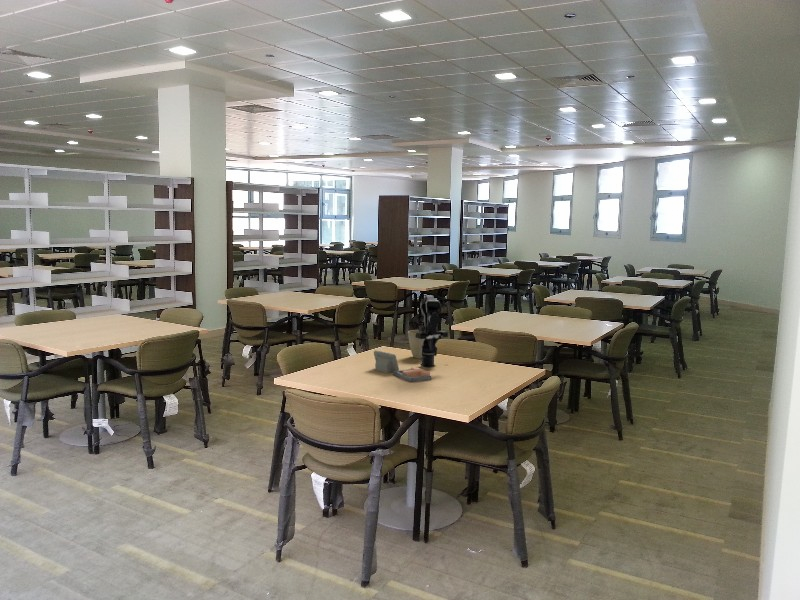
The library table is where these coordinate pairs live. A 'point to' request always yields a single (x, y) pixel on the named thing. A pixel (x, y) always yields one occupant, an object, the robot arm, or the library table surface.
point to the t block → (416, 372)
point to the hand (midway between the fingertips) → (431, 349)
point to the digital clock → (385, 362)
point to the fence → (410, 379)
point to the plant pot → (415, 343)
